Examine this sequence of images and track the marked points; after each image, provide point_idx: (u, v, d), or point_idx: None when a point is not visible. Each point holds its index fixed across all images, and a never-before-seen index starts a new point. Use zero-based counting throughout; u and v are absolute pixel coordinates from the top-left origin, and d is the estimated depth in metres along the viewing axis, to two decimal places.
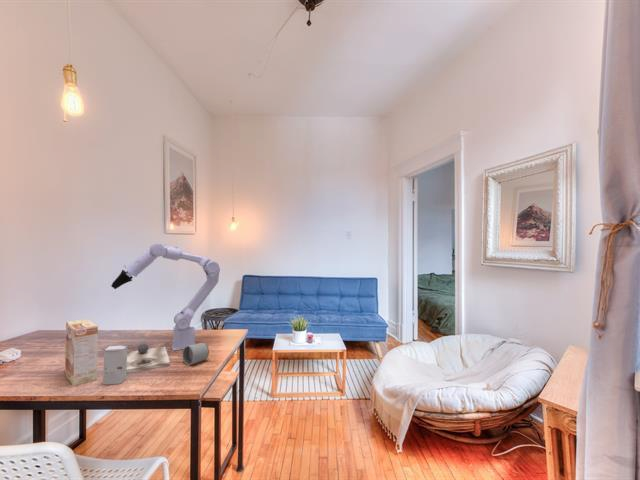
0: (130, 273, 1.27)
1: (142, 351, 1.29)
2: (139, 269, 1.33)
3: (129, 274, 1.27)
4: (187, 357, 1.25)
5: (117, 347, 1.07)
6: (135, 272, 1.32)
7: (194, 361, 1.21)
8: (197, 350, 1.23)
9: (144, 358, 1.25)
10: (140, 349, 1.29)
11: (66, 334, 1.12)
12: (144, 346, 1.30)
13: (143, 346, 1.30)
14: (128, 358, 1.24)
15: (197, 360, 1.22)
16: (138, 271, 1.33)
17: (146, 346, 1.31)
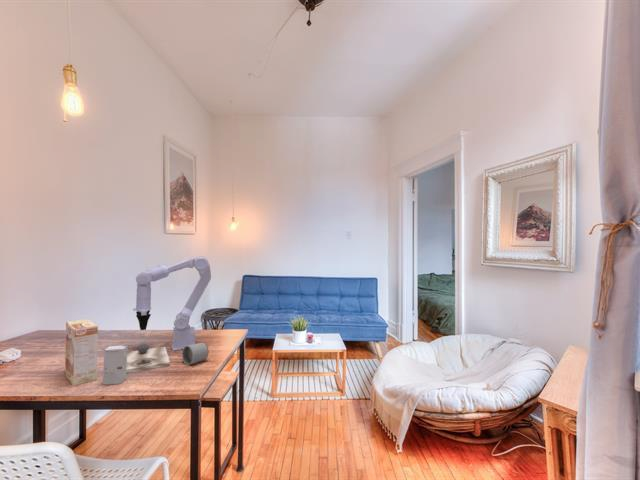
0: (143, 312, 1.32)
1: (142, 351, 1.29)
2: (147, 303, 1.37)
3: (143, 313, 1.32)
4: (186, 357, 1.26)
5: (117, 347, 1.07)
6: (146, 307, 1.37)
7: (194, 361, 1.22)
8: (197, 350, 1.23)
9: (144, 358, 1.25)
10: (140, 349, 1.29)
11: (66, 334, 1.12)
12: (144, 346, 1.30)
13: (143, 346, 1.30)
14: (128, 358, 1.24)
15: (197, 360, 1.23)
16: (148, 304, 1.37)
17: (146, 346, 1.31)
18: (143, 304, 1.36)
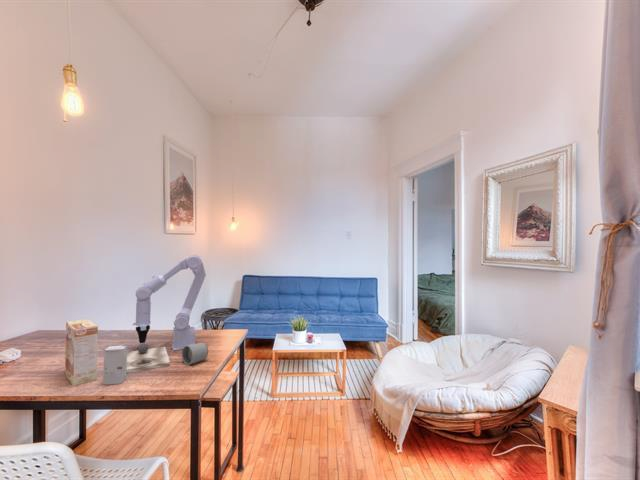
0: (143, 327, 1.32)
1: (142, 351, 1.29)
2: (146, 317, 1.37)
3: (143, 328, 1.32)
4: (186, 356, 1.26)
5: (117, 347, 1.07)
6: (146, 321, 1.37)
7: (193, 361, 1.22)
8: (196, 350, 1.23)
9: (144, 358, 1.25)
10: (140, 349, 1.29)
11: (66, 334, 1.12)
12: (144, 346, 1.30)
13: (143, 346, 1.30)
14: (128, 358, 1.24)
15: (196, 360, 1.23)
16: (147, 319, 1.37)
17: (146, 346, 1.31)
18: (143, 319, 1.36)
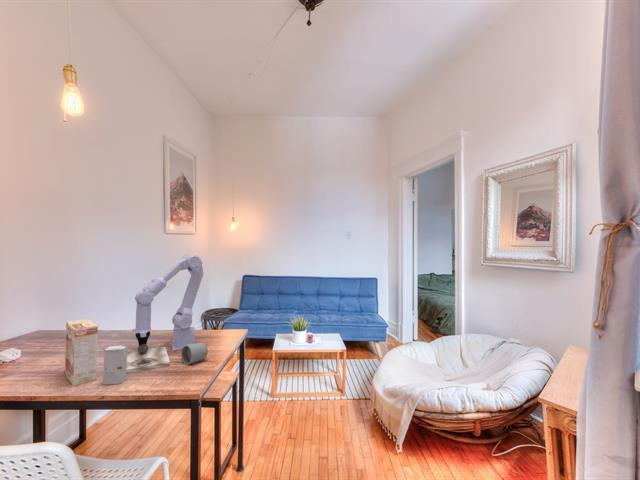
0: (143, 334, 1.26)
1: (142, 352, 1.29)
2: (147, 323, 1.31)
3: (143, 335, 1.26)
4: (185, 356, 1.26)
5: (117, 347, 1.07)
6: (146, 327, 1.31)
7: (193, 360, 1.22)
8: (196, 349, 1.23)
9: (144, 358, 1.25)
10: (140, 350, 1.29)
11: (66, 334, 1.12)
12: (144, 347, 1.29)
13: (143, 347, 1.29)
14: (128, 358, 1.24)
15: (196, 359, 1.23)
16: (148, 325, 1.32)
17: (146, 347, 1.30)
18: (143, 325, 1.30)
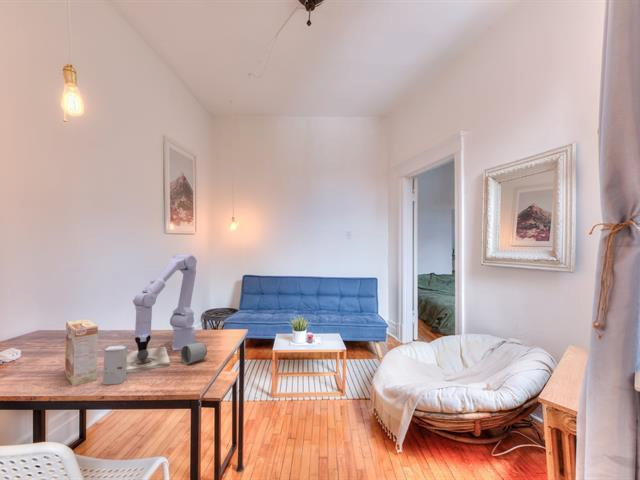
0: (143, 338, 1.19)
1: None
2: (147, 327, 1.24)
3: (143, 339, 1.19)
4: (185, 356, 1.26)
5: (117, 347, 1.07)
6: (146, 331, 1.24)
7: (192, 360, 1.22)
8: (195, 349, 1.23)
9: None
10: None
11: (66, 334, 1.12)
12: None
13: None
14: (128, 358, 1.24)
15: (195, 359, 1.23)
16: (148, 328, 1.25)
17: None
18: (143, 328, 1.23)
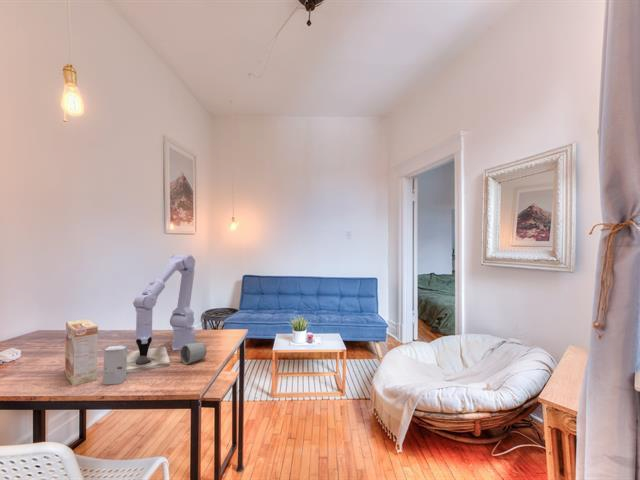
0: (144, 340, 1.18)
1: (140, 359, 1.19)
2: (148, 329, 1.23)
3: (144, 341, 1.18)
4: (184, 356, 1.26)
5: (117, 347, 1.07)
6: (147, 333, 1.23)
7: (191, 360, 1.22)
8: (194, 349, 1.24)
9: None
10: (138, 358, 1.20)
11: (66, 334, 1.12)
12: None
13: (140, 356, 1.21)
14: (128, 358, 1.24)
15: (194, 359, 1.23)
16: (149, 330, 1.24)
17: None
18: (144, 330, 1.22)
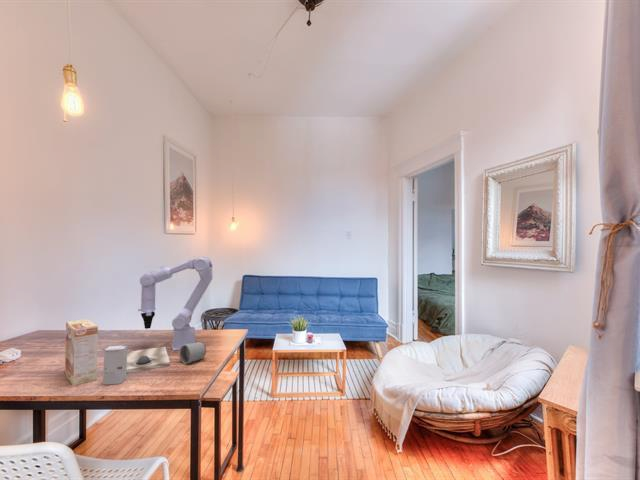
0: (148, 312, 1.35)
1: (142, 360, 1.19)
2: (151, 304, 1.40)
3: (148, 314, 1.35)
4: (184, 356, 1.27)
5: (117, 347, 1.07)
6: (151, 307, 1.40)
7: (191, 360, 1.23)
8: (194, 349, 1.24)
9: None
10: (140, 358, 1.20)
11: (66, 334, 1.12)
12: None
13: None
14: (128, 358, 1.24)
15: (194, 359, 1.24)
16: (152, 305, 1.41)
17: (147, 356, 1.21)
18: (148, 305, 1.39)
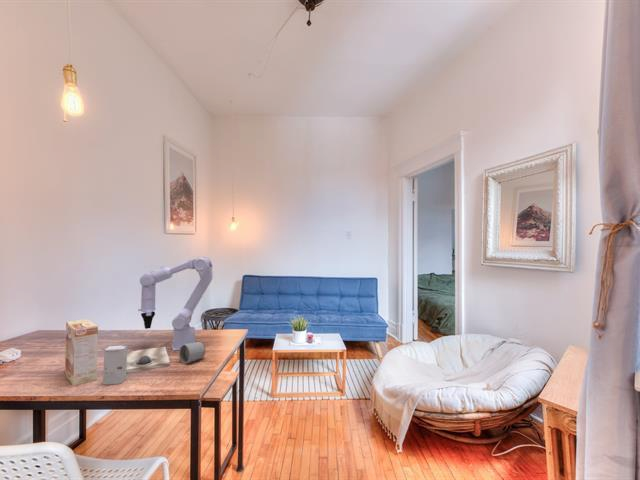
0: (148, 312, 1.36)
1: (144, 360, 1.19)
2: (151, 304, 1.40)
3: (148, 314, 1.36)
4: (183, 355, 1.27)
5: (117, 347, 1.07)
6: (151, 307, 1.40)
7: (190, 360, 1.23)
8: (193, 349, 1.24)
9: None
10: (142, 358, 1.20)
11: (66, 334, 1.12)
12: (147, 356, 1.21)
13: (146, 356, 1.21)
14: (128, 358, 1.24)
15: (193, 359, 1.24)
16: (152, 305, 1.41)
17: (149, 357, 1.21)
18: (148, 305, 1.39)
